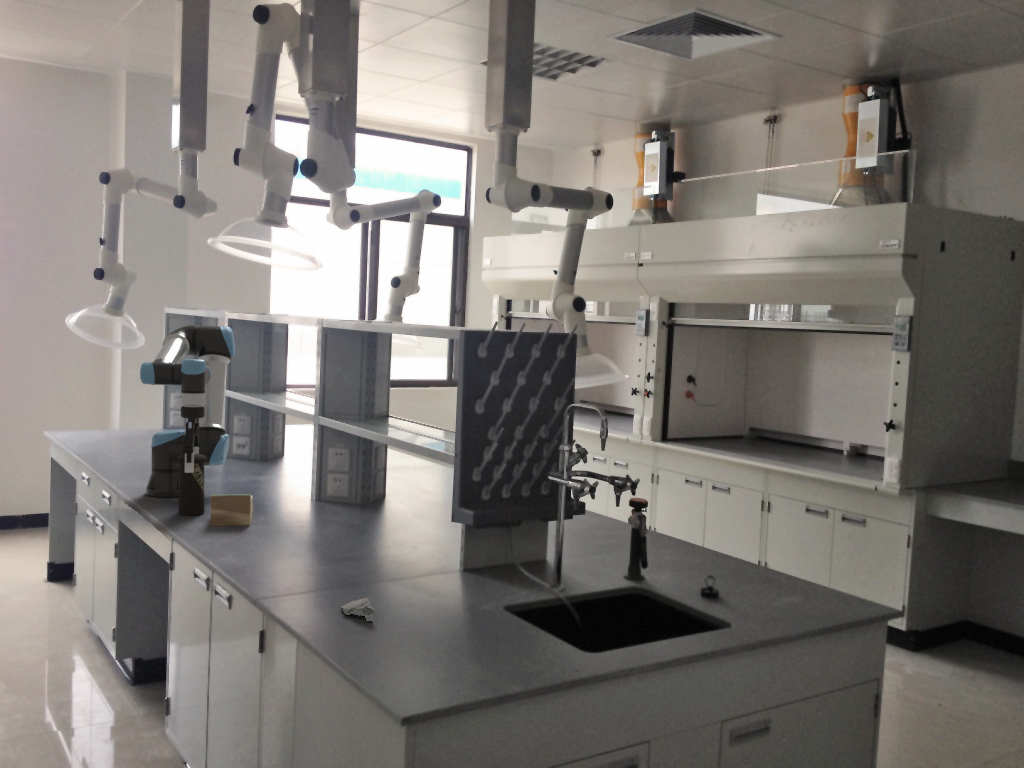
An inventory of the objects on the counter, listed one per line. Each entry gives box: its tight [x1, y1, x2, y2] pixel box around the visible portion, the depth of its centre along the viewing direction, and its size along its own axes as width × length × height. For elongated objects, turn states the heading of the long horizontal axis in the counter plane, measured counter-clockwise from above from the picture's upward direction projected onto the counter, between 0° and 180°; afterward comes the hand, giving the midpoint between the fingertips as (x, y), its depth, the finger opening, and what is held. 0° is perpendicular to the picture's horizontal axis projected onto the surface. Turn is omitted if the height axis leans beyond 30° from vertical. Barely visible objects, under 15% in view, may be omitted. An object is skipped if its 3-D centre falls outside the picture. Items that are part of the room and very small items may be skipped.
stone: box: [340, 597, 376, 620], centre depth 206 cm, size 6×12×4 cm, turn 19°
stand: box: [210, 493, 254, 527], centre depth 293 cm, size 17×12×10 cm
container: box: [177, 454, 206, 517], centre depth 299 cm, size 9×9×20 cm
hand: (191, 469), depth 298 cm, fingers open, 13 cm apart
